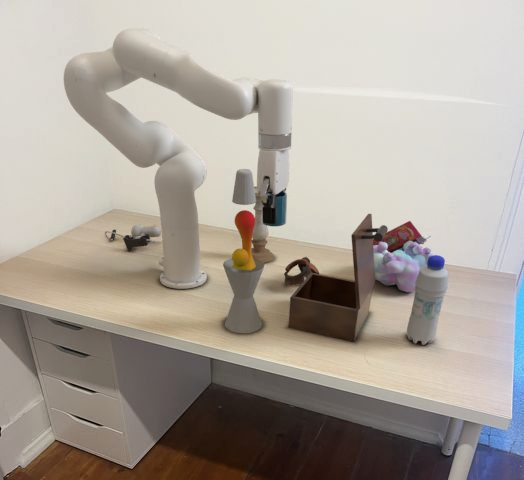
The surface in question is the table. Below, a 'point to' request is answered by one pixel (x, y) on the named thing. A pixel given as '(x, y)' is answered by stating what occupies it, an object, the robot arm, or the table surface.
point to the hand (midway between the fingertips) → (274, 218)
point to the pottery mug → (305, 271)
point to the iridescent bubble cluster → (400, 257)
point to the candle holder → (260, 234)
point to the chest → (328, 307)
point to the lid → (365, 257)
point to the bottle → (428, 300)
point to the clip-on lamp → (138, 236)
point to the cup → (279, 209)
